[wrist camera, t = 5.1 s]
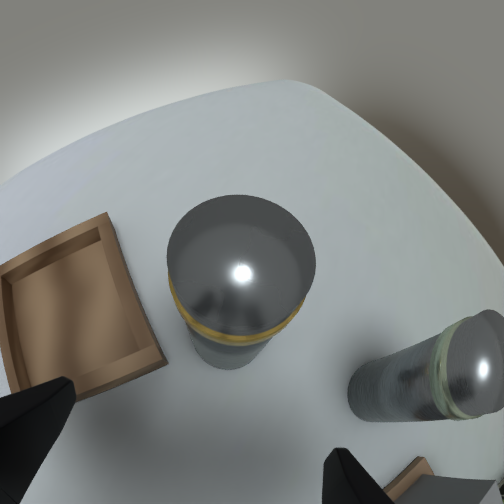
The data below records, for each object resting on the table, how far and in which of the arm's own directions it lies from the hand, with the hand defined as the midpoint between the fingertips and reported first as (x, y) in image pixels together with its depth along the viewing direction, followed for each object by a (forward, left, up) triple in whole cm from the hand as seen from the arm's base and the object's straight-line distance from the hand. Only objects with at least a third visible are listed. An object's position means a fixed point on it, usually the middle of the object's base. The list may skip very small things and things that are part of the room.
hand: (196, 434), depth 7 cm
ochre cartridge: (+4, +5, -12) cm, 14 cm away
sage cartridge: (+12, -6, -12) cm, 19 cm away
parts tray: (-8, +12, -12) cm, 19 cm away
